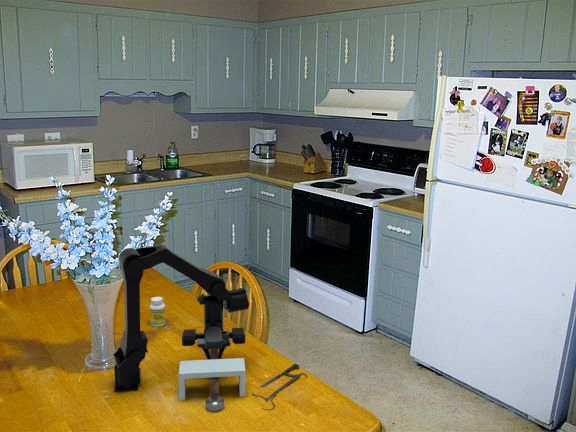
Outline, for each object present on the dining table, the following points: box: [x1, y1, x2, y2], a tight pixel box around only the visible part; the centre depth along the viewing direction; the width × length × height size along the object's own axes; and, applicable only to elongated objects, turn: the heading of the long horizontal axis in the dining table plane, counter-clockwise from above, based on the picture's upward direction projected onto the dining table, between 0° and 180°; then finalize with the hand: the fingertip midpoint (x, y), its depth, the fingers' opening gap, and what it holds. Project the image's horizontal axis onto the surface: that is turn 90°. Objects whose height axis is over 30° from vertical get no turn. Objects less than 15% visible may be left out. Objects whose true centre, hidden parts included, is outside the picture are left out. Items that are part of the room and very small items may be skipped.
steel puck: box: [205, 395, 225, 413], centre depth 146 cm, size 5×5×2 cm
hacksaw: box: [250, 363, 308, 411], centre depth 157 cm, size 24×10×2 cm, turn 140°
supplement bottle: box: [149, 296, 167, 328], centre depth 194 cm, size 5×5×10 cm
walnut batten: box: [209, 349, 220, 397], centre depth 161 cm, size 2×20×5 cm, turn 8°
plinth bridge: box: [178, 357, 246, 401], centre depth 153 cm, size 18×7×8 cm, turn 98°
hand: (214, 362), depth 166 cm, fingers closed on walnut batten, 2 cm apart
